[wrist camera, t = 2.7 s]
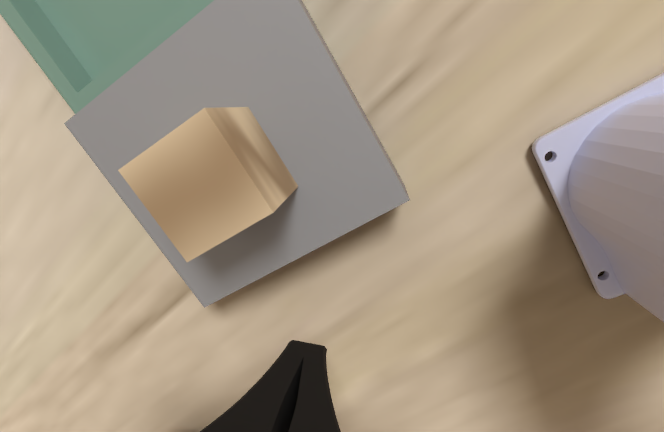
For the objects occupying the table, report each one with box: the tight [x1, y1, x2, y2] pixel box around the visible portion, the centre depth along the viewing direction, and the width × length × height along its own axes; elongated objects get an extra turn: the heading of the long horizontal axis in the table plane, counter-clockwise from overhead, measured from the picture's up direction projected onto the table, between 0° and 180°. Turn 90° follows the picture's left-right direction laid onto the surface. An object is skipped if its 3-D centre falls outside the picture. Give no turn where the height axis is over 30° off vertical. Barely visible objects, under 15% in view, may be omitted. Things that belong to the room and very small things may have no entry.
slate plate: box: [64, 0, 409, 308], centre depth 17 cm, size 11×12×3 cm
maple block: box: [118, 107, 298, 262], centre depth 14 cm, size 4×4×4 cm
